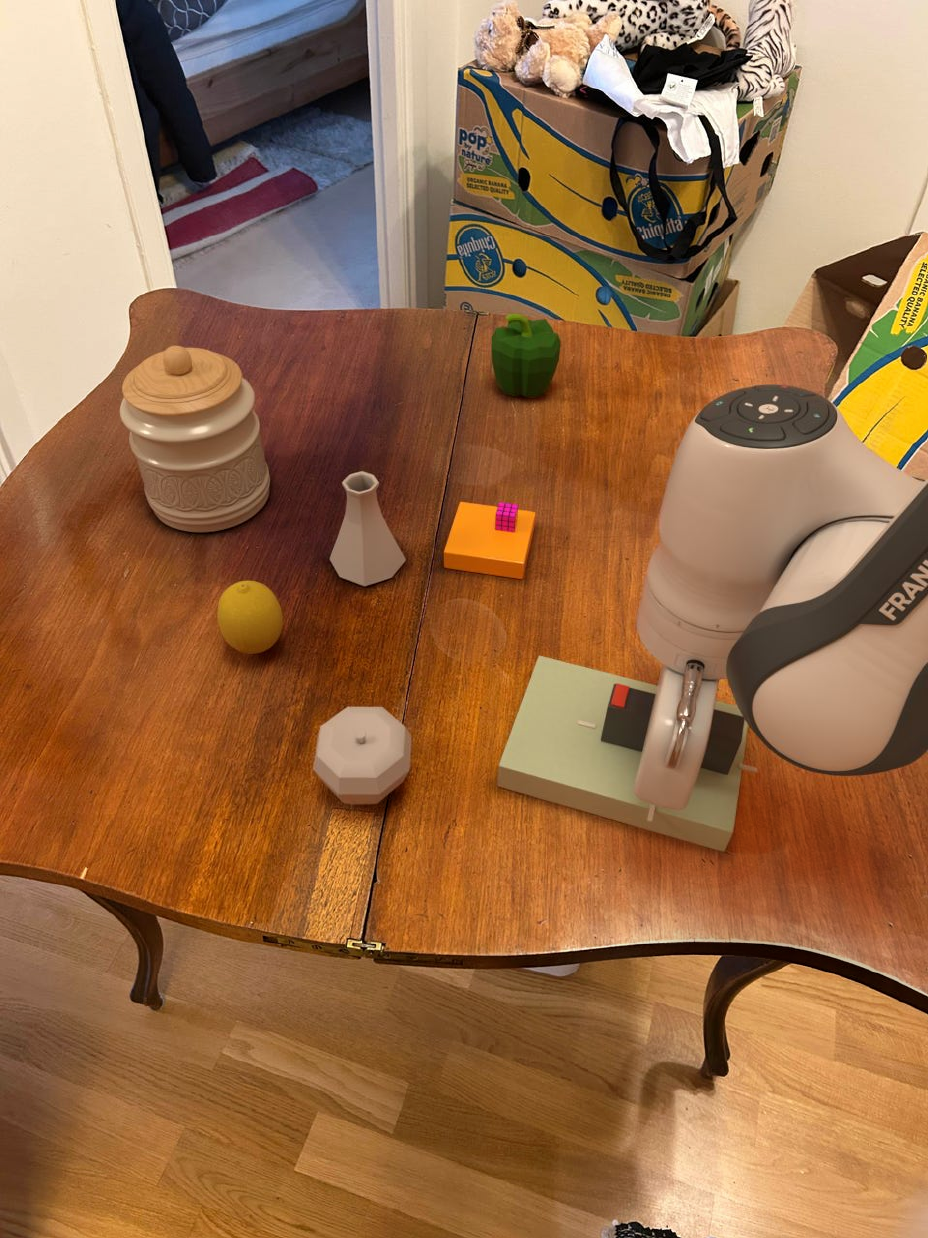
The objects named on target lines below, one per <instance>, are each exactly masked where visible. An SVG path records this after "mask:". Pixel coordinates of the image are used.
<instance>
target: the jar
mask: <svg viewBox="0 0 928 1238" xmlns="http://www.w3.org/2000/svg"><path fill="white" fill-rule="evenodd" d="M121 392H122V397H123V399H122V401H121V404H120V405H119V416H120V419H121V422H122V423H123V425H124V426H125V427H126V429H128V430H129V431H130V432H129V437H128V442H129V446H130V449H131V451H132V453H133V455H134V457H135V460H136V463H137V466H138V469H139V472H140V476H141V479H142V482H143V490H144V494H145V497H146V501H147V503H148V505H149V507H150V508H151V510H152V511H153V512H154V514H155V516H156V517H157V519H159V520H160V521H161V522H162V523H164V524H165V525H167V526H169V527H171V528H173V529H175V530H180V531H183V532H190V533H210V532H218V531H219V532H220V531H223V530H227V529H229V528H233V527H236V526H238V525H241V524H242V523H244V522H247V521H248V520H249V519H251V518H252V517H254V516H255V515H257V513H259V512H260V510H261V509H262V508H263V507H264V506H265V504H266V502H267V501H268V498H269V495H270V484H271V476H270V475H271V474H270V469H269V466H268V463H267V461H266V457H265V452H264V448H263V442H262V436H261V432H260V431H261V423H260V419H259V416H258V414H257V413H256V412H255V410H254V409H253V408H254V406H255V402H256V401H255V400H256V394H255V390H254V388H253V386H252V384H250V383H249V381H248V380H247V379H246V378H244V377H243V372H242V370H241V368H240V366H239V365H238V364H237V363H236V361H234V360H233V359H231V358H230V357H228V356H226V355H223V354H220V353H217V352H213V351H212V350H209V349H205V348H198V347H184V346H182V345H181V346H180V345H171V346H169V347H168V348H166V349H165V350H163V351H160V352H158V353H155V354H153V355H151V356H149V357H147V358H145V359H144V360H143V361H142V362H141V363H140V364H138V365H136V366H135V367H134V368H133V369H131V371H130V372H129V373H128V374H126V376H125V378H124V379H123V382H122V386H121Z"/></svg>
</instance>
